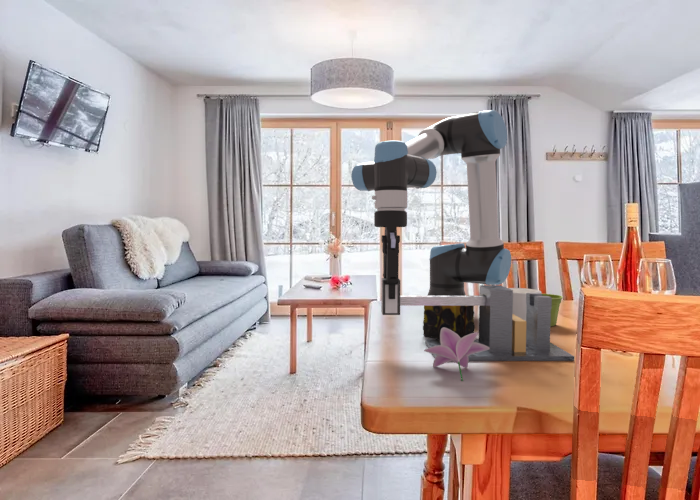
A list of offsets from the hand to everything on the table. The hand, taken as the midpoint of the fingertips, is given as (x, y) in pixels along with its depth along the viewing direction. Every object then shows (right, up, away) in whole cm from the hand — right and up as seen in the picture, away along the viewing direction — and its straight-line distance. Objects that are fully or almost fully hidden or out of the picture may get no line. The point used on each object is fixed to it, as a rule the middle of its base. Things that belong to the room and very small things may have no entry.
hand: (390, 310), depth 99 cm
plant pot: (+49, -8, +28) cm, 57 cm away
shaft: (+11, -1, 0) cm, 11 cm away
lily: (+12, -11, -14) cm, 21 cm away
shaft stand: (+24, -10, 0) cm, 26 cm away
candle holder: (+37, -9, +16) cm, 41 cm away
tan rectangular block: (+29, -9, 0) cm, 30 cm away
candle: (+17, -9, +14) cm, 24 cm away
